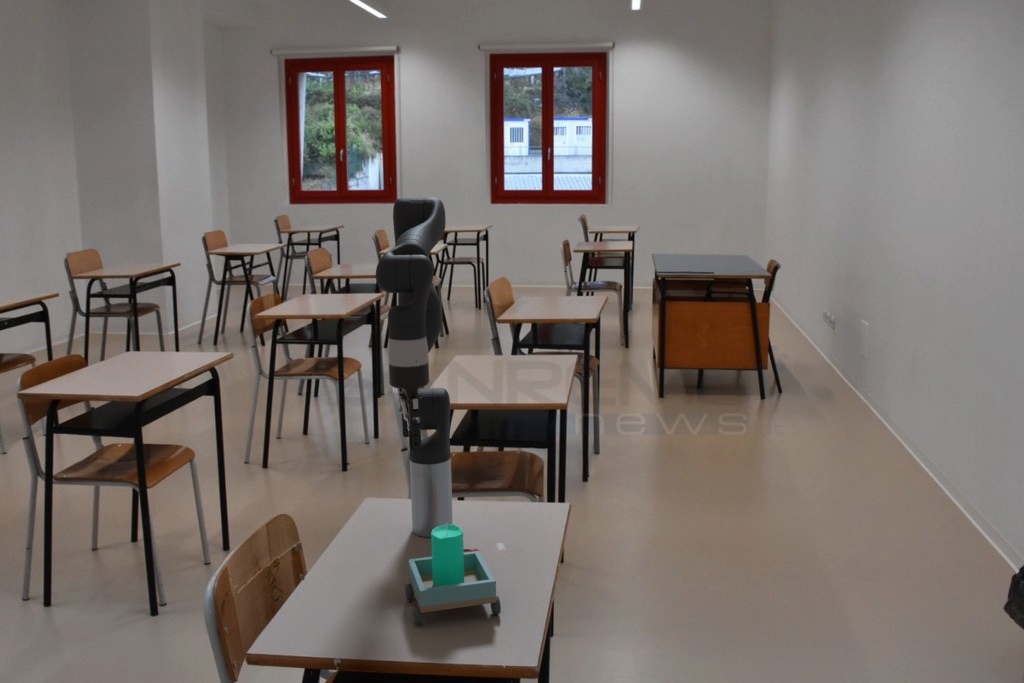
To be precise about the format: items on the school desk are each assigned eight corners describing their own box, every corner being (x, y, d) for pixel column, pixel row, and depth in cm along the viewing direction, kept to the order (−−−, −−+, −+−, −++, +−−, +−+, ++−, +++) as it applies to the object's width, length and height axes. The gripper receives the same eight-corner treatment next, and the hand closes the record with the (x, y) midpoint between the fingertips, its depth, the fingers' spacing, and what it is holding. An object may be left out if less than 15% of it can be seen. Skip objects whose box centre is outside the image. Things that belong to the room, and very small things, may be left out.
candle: (441, 574, 183) (439, 515, 180) (469, 578, 181) (468, 519, 178) (427, 587, 177) (425, 527, 175) (456, 592, 175) (454, 531, 173)
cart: (405, 595, 184) (403, 560, 182) (484, 584, 188) (483, 550, 186) (416, 629, 171) (415, 591, 169) (501, 617, 174) (500, 580, 173)
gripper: (434, 367, 172) (437, 452, 176) (422, 351, 186) (424, 430, 189) (393, 370, 170) (397, 455, 174) (383, 354, 184) (387, 434, 187)
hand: (411, 442), depth 181 cm, fingers open, 8 cm apart
